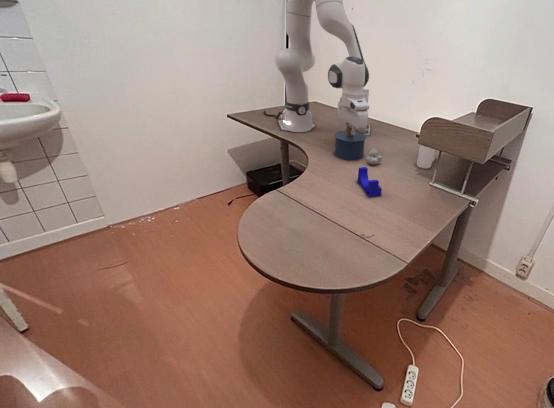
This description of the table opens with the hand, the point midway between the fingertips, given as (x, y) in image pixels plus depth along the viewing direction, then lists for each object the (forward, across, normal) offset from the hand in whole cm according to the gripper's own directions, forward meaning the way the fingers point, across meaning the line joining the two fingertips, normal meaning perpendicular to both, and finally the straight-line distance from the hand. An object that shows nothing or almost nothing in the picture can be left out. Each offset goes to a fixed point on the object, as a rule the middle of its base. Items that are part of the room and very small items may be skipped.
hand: (350, 133), depth 130 cm
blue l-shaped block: (+10, +31, -9) cm, 34 cm away
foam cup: (+10, +18, +32) cm, 38 cm away
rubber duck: (+10, +13, +5) cm, 17 cm away
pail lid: (+2, 0, 0) cm, 2 cm away
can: (+10, +23, +25) cm, 35 cm away
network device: (+10, -29, +25) cm, 40 cm away
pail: (+10, 0, 0) cm, 10 cm away
